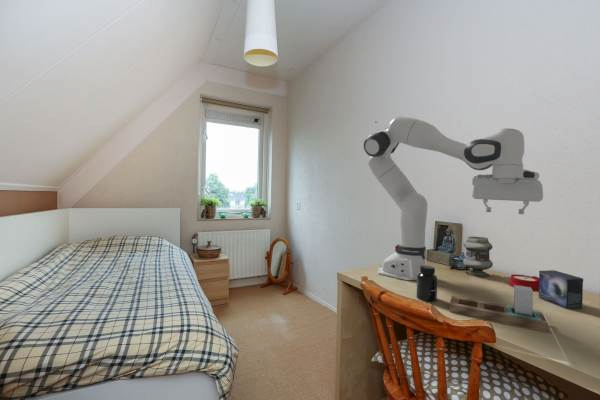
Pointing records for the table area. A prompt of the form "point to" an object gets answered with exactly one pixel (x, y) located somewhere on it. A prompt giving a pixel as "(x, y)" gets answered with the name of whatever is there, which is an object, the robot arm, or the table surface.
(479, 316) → the wooden compartment tray
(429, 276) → the supplement bottle
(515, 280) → the alarm clock
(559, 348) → the table surface
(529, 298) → the steel peg
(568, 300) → the small box
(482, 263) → the apothecary jar
